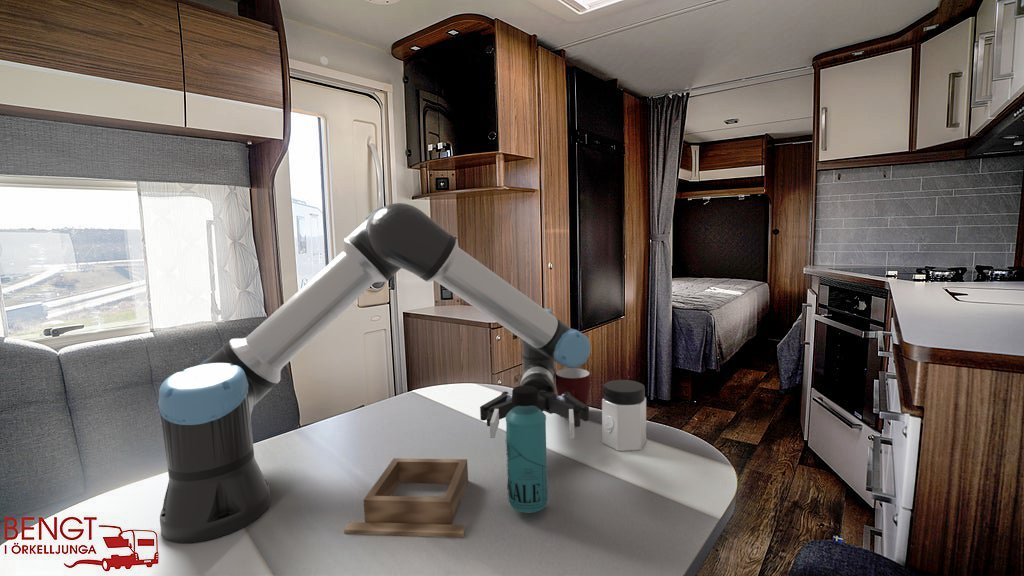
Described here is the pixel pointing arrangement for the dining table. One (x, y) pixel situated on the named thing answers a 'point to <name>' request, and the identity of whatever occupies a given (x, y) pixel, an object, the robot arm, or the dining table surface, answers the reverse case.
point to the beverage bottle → (526, 452)
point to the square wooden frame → (414, 500)
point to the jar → (624, 415)
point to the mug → (573, 383)
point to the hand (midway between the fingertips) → (531, 430)
